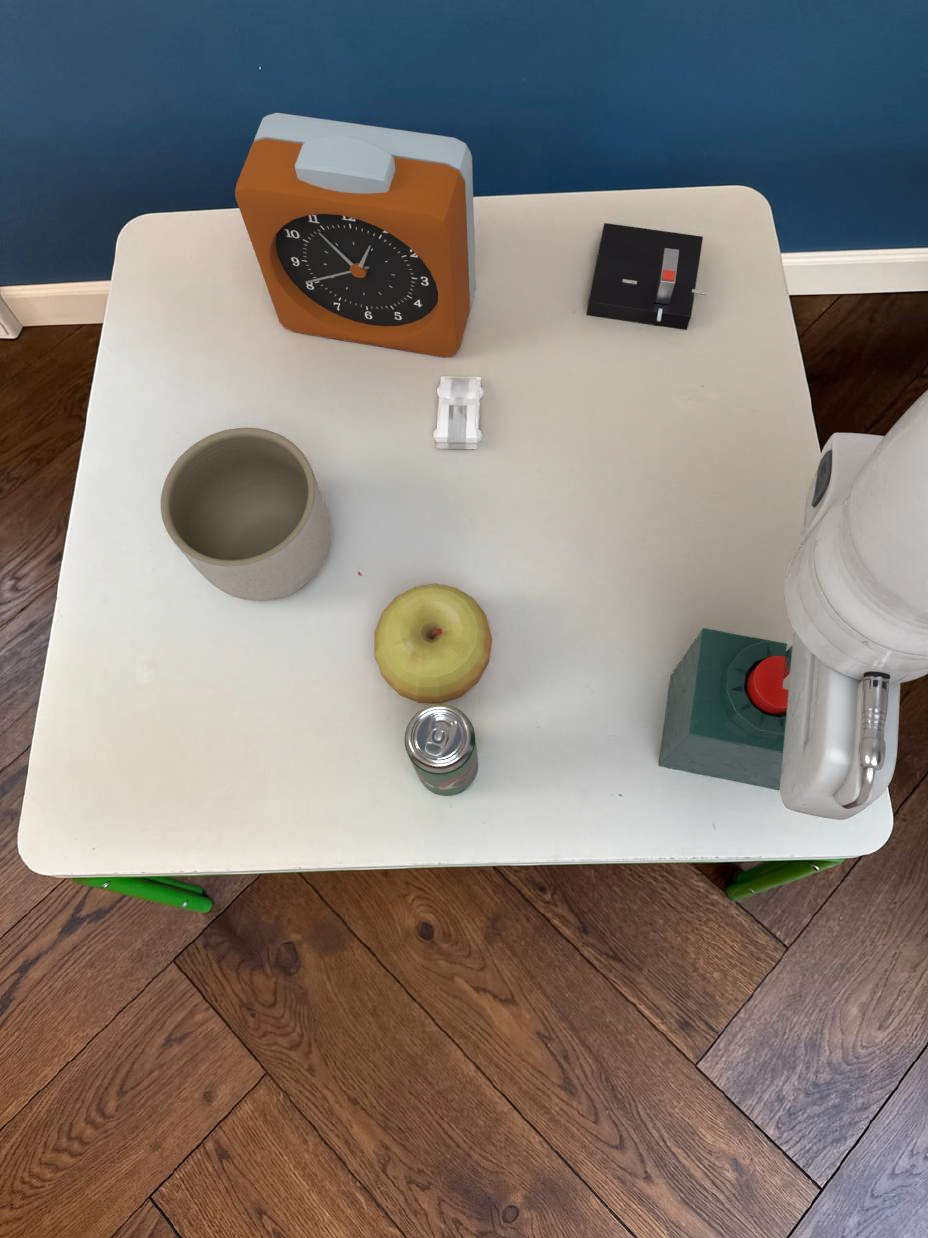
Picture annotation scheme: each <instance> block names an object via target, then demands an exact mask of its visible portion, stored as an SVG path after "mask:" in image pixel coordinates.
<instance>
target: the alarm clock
mask: <svg viewBox="0 0 928 1238" xmlns="http://www.w3.org/2000/svg"><path fill="white" fill-rule="evenodd" d="M473 177H474V176H473V156H472V153H471V150H470V148H469V147H468V145H467V143H466V142H464V141H462V140H460V139H458V138H456V137H453V136H452V137H451V136H445V135H438V134H430V133H424V132H417V131H411V130H410V131H409V130H403V129H395V128H388V127H381V126H374V125H367V124H361V123H352V122H346V121H338V120H331V119H325V118H317V117H311V116H303V115H296V114H289V113H281V112H274V113H271V114H268V115H266V116H264V117H262V119H261V122H260V124H259V125H258V129H257V132H256V134H255V136H254V139H253V142H252V143H251V146H250V148H249V152H248V155H247V156H246V159H245V162H244V164H243V167H242V169H241V172H240V175H239V177H238V179H237V181H236V186H235V190H234V195H235V201H236V203H237V206H238V209H239V212H240V214H241V217H242V220H243V224H244V226H245V229H246V232H247V235H248V238H249V240H250V243H251V246H252V249H253V251H254V254H255V257H256V260H257V263H258V265H259V269H260V271H261V273H262V277H263V280H264V283H265V285H266V288H267V292H268V294H269V297H270V300H271V302H272V305H273V308H274V311H275V313H276V316H277V319H278V321H279V323H280V324H281V325H282V326H283V328H285V329H286V330H288V331H292V332H293V333H298V334H303V335H309V336H315V337H322V338H326V339H332V340H333V339H334V340H340V341H346V342H350V343H356V344H357V343H358V344H364V345H369V346H376V347H382V348H387V349H392V350H399V351H405V352H410V353H418V354H424V355H429V356H434V357H439V358H440V357H442V358H449V357H454V355H456V354H457V352H458V351H459V350H460V348H461V345H462V342H463V338H464V334H465V330H466V327H467V323H468V319H469V315H470V312H471V308H472V305H473V302H474V297H475V295H476V294H475V293H476V289H477V281H476V280H477V279H476V245H475V243H476V241H475V214H474V213H475V211H474V210H475V209H474V182H473V180H474V178H473Z"/></svg>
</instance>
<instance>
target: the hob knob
mask: <svg viewBox="0 0 928 1238" xmlns="http://www.w3.org/2000/svg"><path fill="white" fill-rule="evenodd" d="M678 256H679V250H677V249H668V248H665V249H664V253H663V257H662V261H661V265H660V269H659V276H658V283H657V291H656V298H655V303H662V304H670V300H671V296H672V293H673V289H674V285H675V281H676V272H677V264H678Z"/></svg>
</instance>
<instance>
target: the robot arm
mask: <svg viewBox="0 0 928 1238" xmlns="http://www.w3.org/2000/svg"><path fill="white" fill-rule="evenodd" d="M799 544H800V545H801V546H800V547H799V549H798V550H797V551H796V552H795V554H794V555H793V557H792V559H791V561H790V563H789V566H788V568H787V572H786V575H785V580H784V591H783V592H784V603H785V609H786V612H787V616H788V619H789V621H790V624H791V626H792V628H793V636H792V638H791V640H789V641H788V643H787V645H786V655H785V669H784V678H783V688H784V689H786V690H789V692H788V703H787V714H786V725H785V736H784V747H783V759H782V770H781V780H780V790H779V795H780V799H781V801H782V802H781V803H782V804H783V805H784V807H785V808H786V809H787V810H789V811H791V812H795V813H800V814H805V815H808V816H813V817H818V818H824V819H830V820H839V821H842V820H848V819H850V818H852V817H854V816H856V815H858V814H859V813H861V812H862V811H864V810H865V809H867V808H868V807H869V806H870V805H871V804H873V803H874V802H875V801H877V800H878V799H879V798H880V797H881V796H882V795H883V794H884V793H885V792H886V790H887V789H888V787H889V785H890V783H891V781H892V779H893V776H894V773H895V769H896V762H897V756H898V747H899V746H898V745H899V744H898V743H899V726H900V725H899V723H900V722H899V720H900V701H901V700H900V699H901V683H906V682H910V681H914V680H917V679H919V678H922V677H924V676H926V675H928V389H927V390H925V392H923V394H921V395H920V396H919V397H918V398H917V399H916V400H915V401H914V402H913V404H912V405H910V407H908V409H907V410H906V411H905V412H904V413H903V414H902V415H901V417H900V418H899V419H898V420H897V421H895V423H894V424H893V425H892V427H891V428H890V429H889V431H888V432H887V433H886V434H885V435H877V434H868V433H855V432H834V433H833V434H832V435H830V437H829V438H828V440H827V441H826V442H825V444H824V446H823V448H822V451H821V453H820V458H819V464H818V467H817V470H816V471H815V474H814V475H813V477H812V479H811V482H810V483H809V487H808V490H807V494H806V498H805V503H804V515H803V527H802V532H801V535H800V538H799Z"/></svg>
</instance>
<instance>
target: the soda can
mask: <svg viewBox="0 0 928 1238" xmlns="http://www.w3.org/2000/svg"><path fill="white" fill-rule="evenodd" d="M474 728H475V727H474V726H473V724H472V721H471V720H470V718H469V717H468V716H467V715H466V714H465V713H464V712H463V711H461V709H459V708H457V707H454V706H452V705H448V704H443V703H442V704H432V705H429V706H426V707H424V708H422V709H421V710H419V711H418V712H416V714H414V715H413V717H412V718H411V719H410V721H409V722H408V724H407V726H406V728H405V733H404V747H405V752H406V754H407V756H408V758H409V760H410V762H411V764H412V767H413V769H414V770H415V773H416V775H417V777H418V779H419V780H420V783H421V784H422V786H424V788H425V789H426V790H428V791H429V792H431V793H432V794H435V795H438V796H442V797H453V796H456V795H459V794H461V793H463V792H464V791H466V790H468V788H470V786H471V785H472V784H473V783H474V781H475V779H476V777H477V773H478V768H479V763H478V762H479V761H478V760H479V759H478V750H477V740H476V733H475V729H474Z"/></svg>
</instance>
